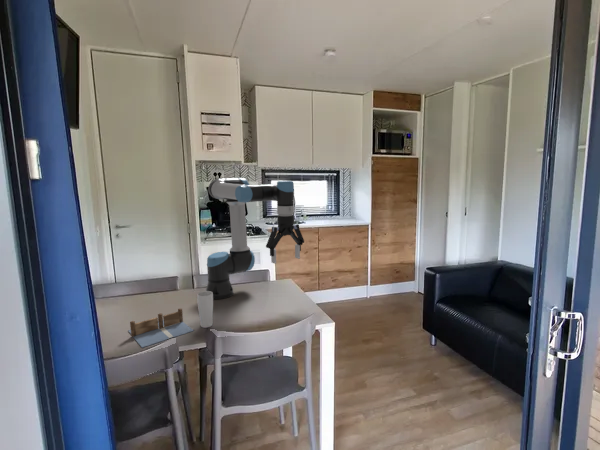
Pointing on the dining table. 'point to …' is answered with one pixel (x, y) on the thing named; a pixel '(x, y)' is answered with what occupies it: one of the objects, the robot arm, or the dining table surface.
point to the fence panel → (146, 325)
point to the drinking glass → (205, 308)
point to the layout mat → (162, 334)
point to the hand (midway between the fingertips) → (285, 260)
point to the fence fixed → (173, 318)
